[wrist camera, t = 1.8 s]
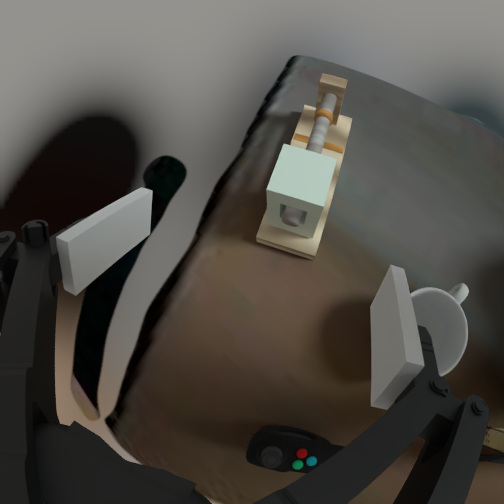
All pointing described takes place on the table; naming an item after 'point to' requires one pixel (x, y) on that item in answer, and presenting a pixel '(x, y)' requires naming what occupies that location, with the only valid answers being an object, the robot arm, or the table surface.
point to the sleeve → (299, 188)
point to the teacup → (443, 322)
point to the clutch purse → (494, 444)
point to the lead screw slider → (320, 141)
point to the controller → (288, 449)
